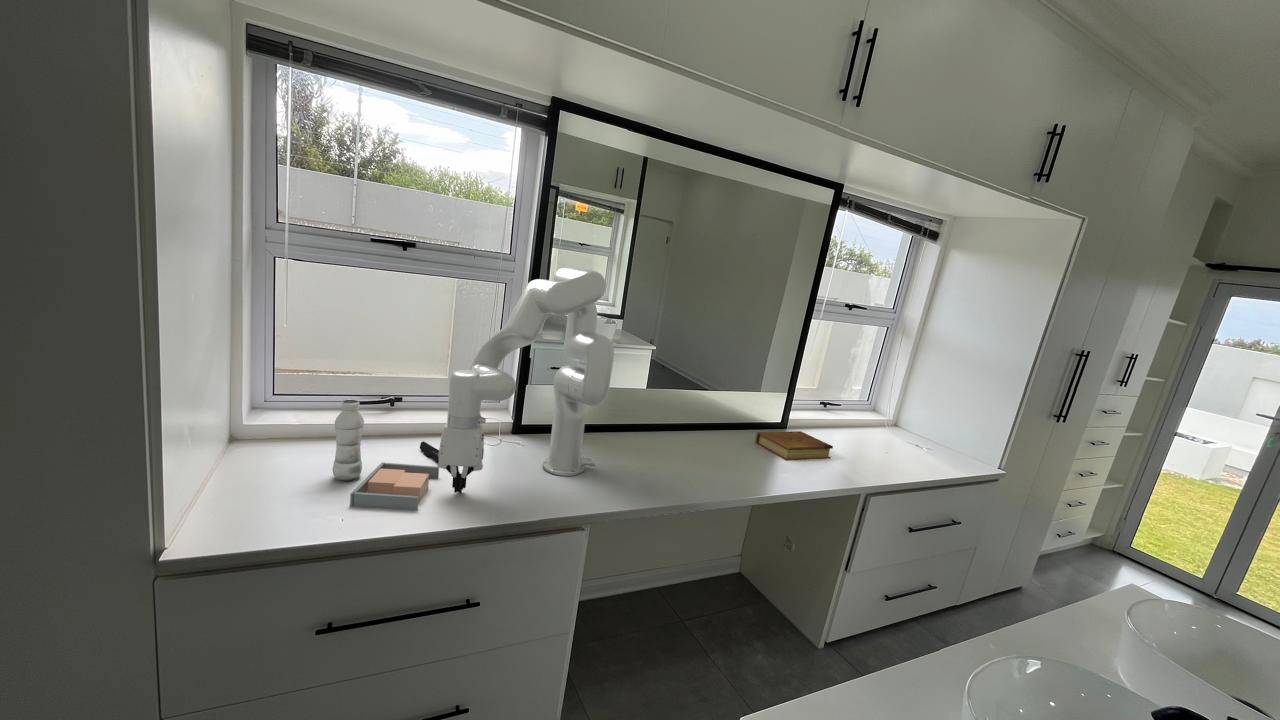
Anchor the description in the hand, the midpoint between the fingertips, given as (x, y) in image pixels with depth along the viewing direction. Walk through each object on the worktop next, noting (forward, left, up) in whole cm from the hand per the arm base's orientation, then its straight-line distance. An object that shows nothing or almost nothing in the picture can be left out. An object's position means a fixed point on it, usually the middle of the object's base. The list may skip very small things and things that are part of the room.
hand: (458, 490), depth 123 cm
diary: (-117, -58, -2) cm, 130 cm away
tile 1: (+17, 0, -1) cm, 17 cm away
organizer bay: (+14, 0, -1) cm, 14 cm away
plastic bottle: (+28, -5, -1) cm, 29 cm away
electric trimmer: (+12, -22, -2) cm, 25 cm away
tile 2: (+11, +2, -1) cm, 11 cm away
